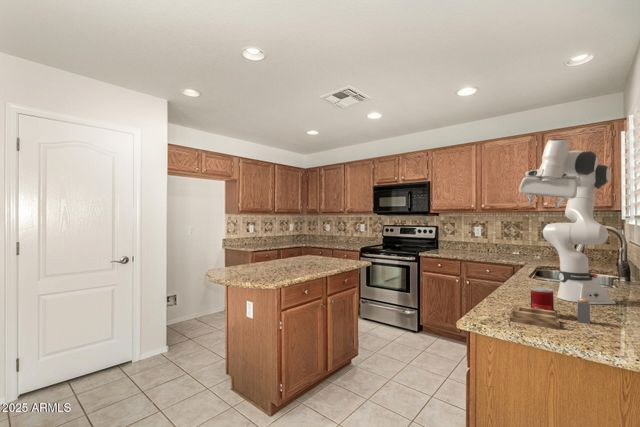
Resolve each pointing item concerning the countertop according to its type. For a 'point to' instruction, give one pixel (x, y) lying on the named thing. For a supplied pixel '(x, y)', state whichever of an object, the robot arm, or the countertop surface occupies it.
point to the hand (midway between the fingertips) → (543, 205)
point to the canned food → (542, 298)
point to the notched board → (556, 326)
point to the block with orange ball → (583, 311)
